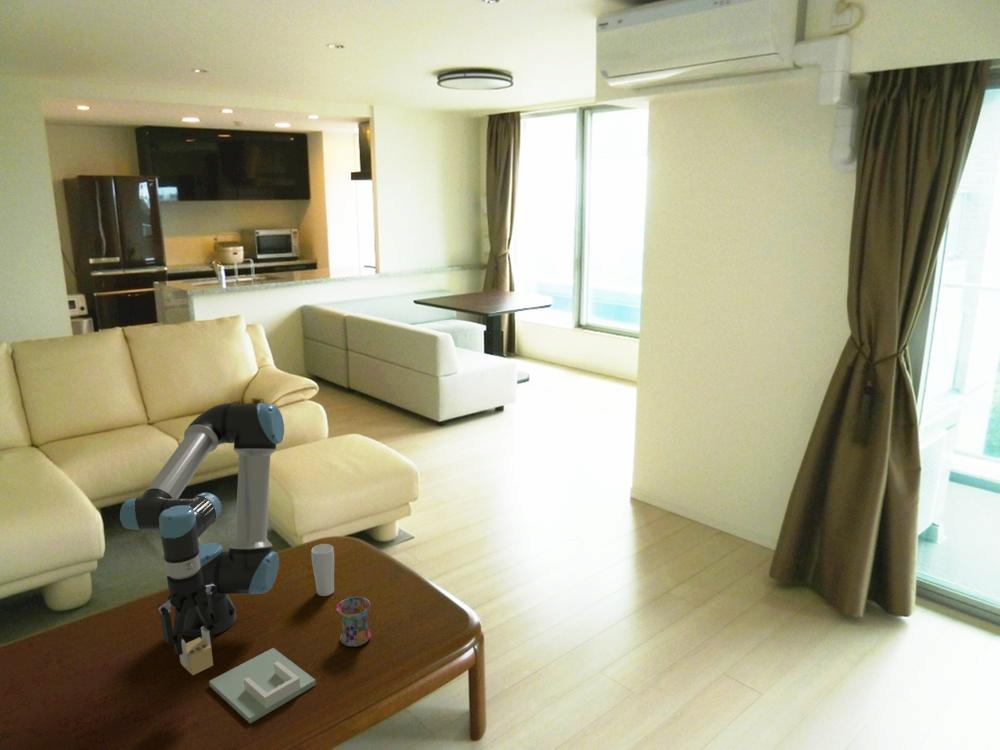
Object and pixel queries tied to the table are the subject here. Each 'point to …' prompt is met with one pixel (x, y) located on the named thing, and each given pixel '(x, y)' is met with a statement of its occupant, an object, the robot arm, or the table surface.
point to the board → (262, 684)
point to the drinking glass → (323, 568)
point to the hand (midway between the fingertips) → (196, 657)
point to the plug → (198, 656)
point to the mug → (354, 621)
